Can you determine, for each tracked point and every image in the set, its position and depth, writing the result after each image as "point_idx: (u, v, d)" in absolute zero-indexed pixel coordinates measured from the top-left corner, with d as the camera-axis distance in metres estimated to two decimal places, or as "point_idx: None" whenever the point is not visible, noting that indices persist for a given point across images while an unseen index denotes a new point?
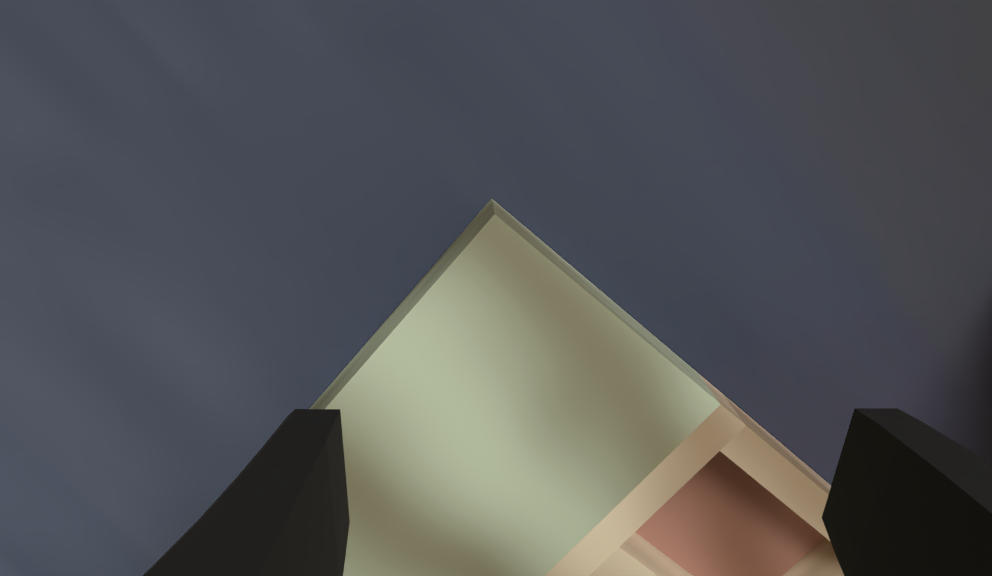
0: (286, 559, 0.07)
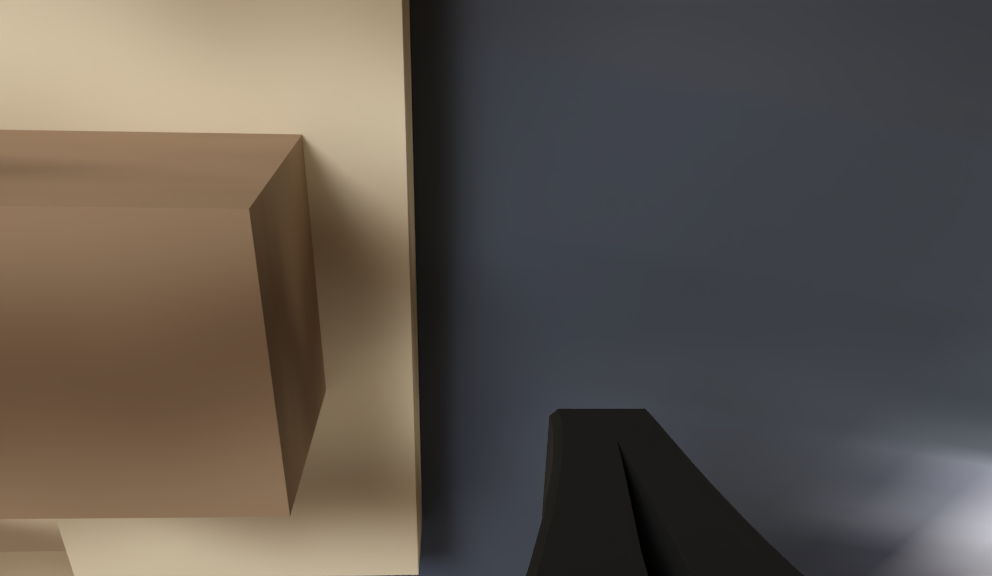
0: None
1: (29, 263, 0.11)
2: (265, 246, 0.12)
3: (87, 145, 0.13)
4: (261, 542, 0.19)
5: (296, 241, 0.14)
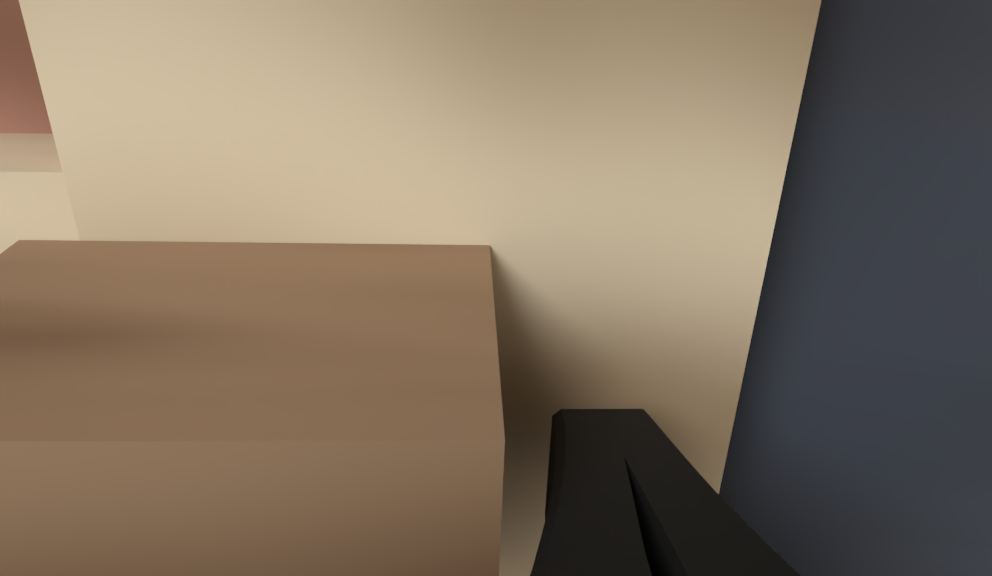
0: None
1: (117, 524, 0.06)
2: None
3: (182, 276, 0.09)
4: None
5: None
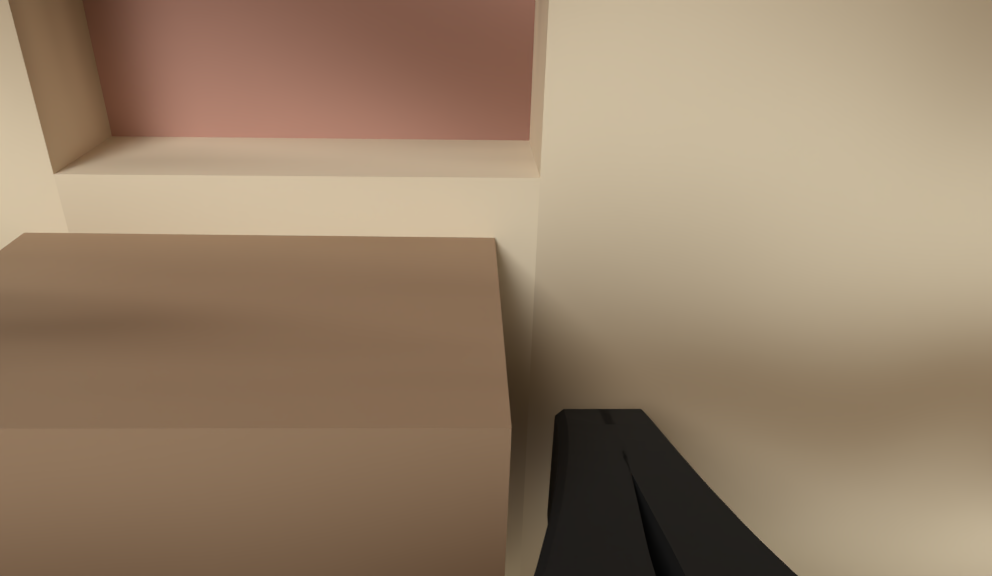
0: None
1: (123, 512, 0.06)
2: None
3: (187, 267, 0.09)
4: None
5: None
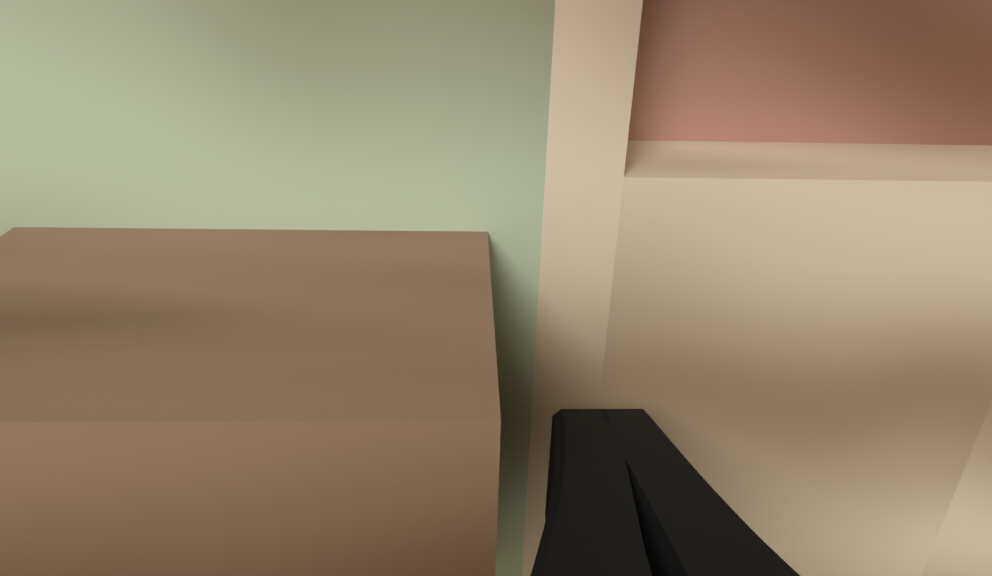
0: None
1: (109, 506, 0.06)
2: None
3: (176, 261, 0.09)
4: None
5: None
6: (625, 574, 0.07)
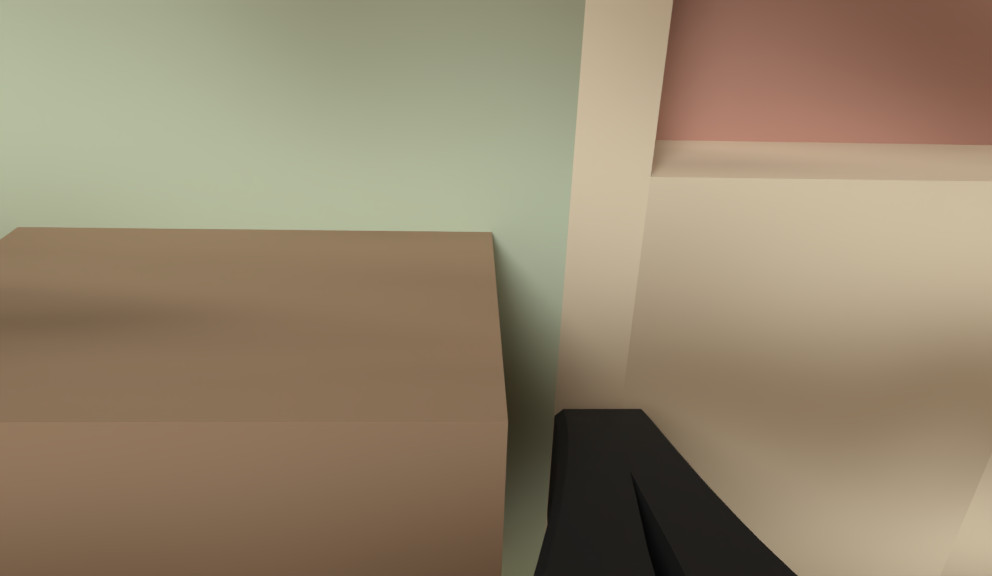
0: None
1: (116, 507, 0.06)
2: None
3: (180, 261, 0.09)
4: None
5: None
6: (628, 574, 0.07)
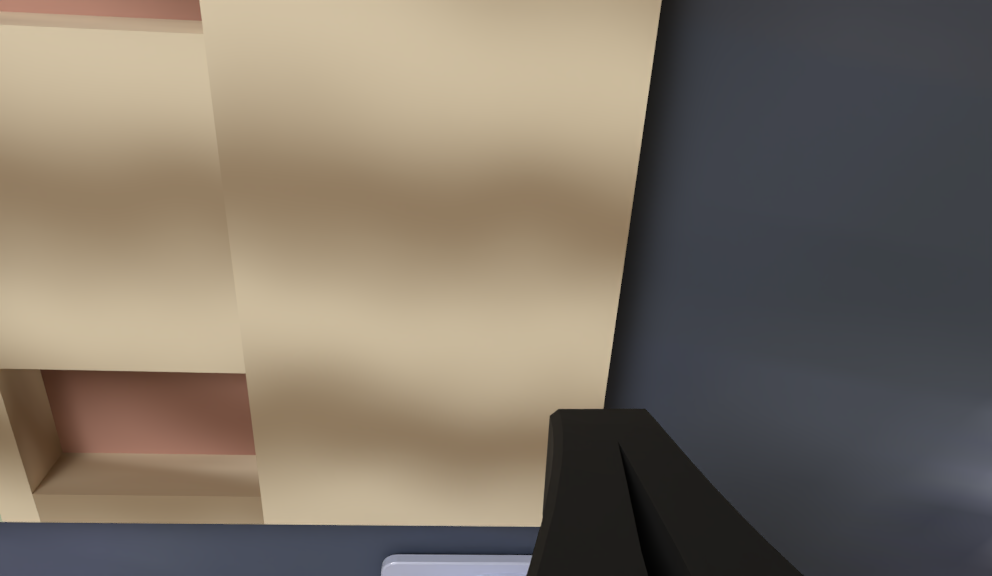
0: None
1: None
2: None
3: None
4: (445, 492, 0.20)
5: None
6: (621, 574, 0.07)
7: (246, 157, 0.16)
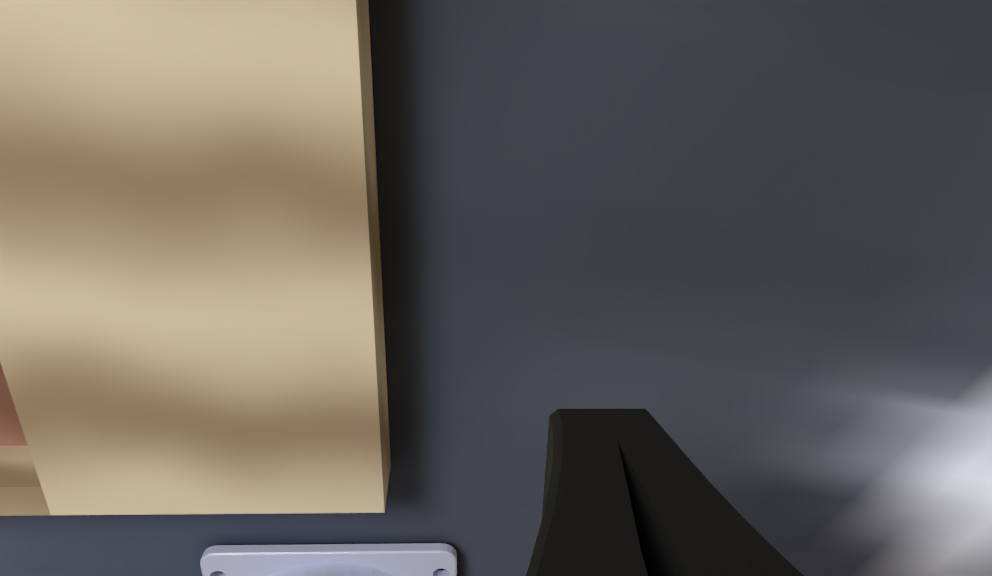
0: None
1: None
2: None
3: None
4: (230, 479, 0.20)
5: None
6: (621, 574, 0.07)
7: None
